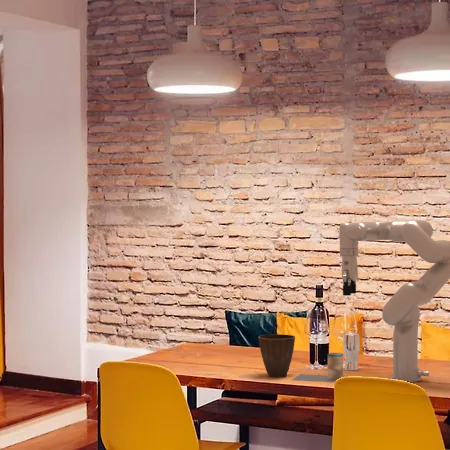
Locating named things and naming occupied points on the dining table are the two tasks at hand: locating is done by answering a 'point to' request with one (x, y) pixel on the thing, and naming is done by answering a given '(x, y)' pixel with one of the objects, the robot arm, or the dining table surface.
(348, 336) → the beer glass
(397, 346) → the robot arm
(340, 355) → the capped block
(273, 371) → the plant pot
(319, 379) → the rubber mat
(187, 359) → the dining table surface
